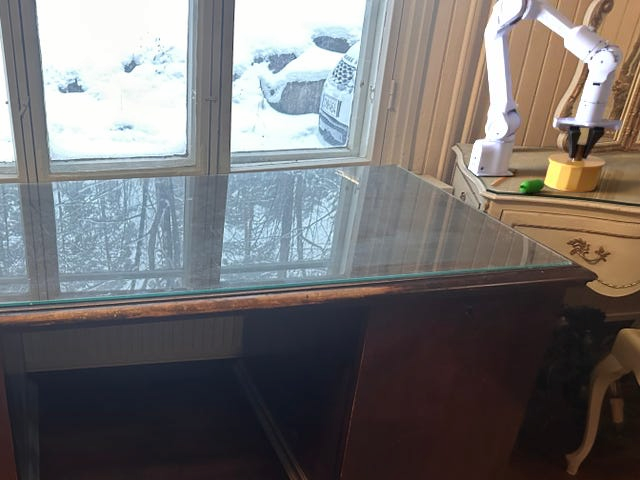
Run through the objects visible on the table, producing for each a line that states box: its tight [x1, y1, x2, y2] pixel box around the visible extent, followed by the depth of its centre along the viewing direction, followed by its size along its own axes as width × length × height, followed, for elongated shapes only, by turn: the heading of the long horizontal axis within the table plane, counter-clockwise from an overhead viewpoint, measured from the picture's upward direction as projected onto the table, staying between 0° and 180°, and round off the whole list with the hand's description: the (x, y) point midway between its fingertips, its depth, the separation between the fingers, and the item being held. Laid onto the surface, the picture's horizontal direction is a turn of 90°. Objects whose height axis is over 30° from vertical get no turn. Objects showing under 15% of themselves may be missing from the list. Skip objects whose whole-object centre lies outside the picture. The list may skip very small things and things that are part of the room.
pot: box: [543, 161, 603, 193], centre depth 173 cm, size 12×12×6 cm
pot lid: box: [548, 141, 606, 169], centre depth 170 cm, size 13×13×5 cm
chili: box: [517, 178, 545, 194], centre depth 170 cm, size 8×3×3 cm, turn 109°
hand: (577, 157), depth 171 cm, fingers closed on pot lid, 2 cm apart
